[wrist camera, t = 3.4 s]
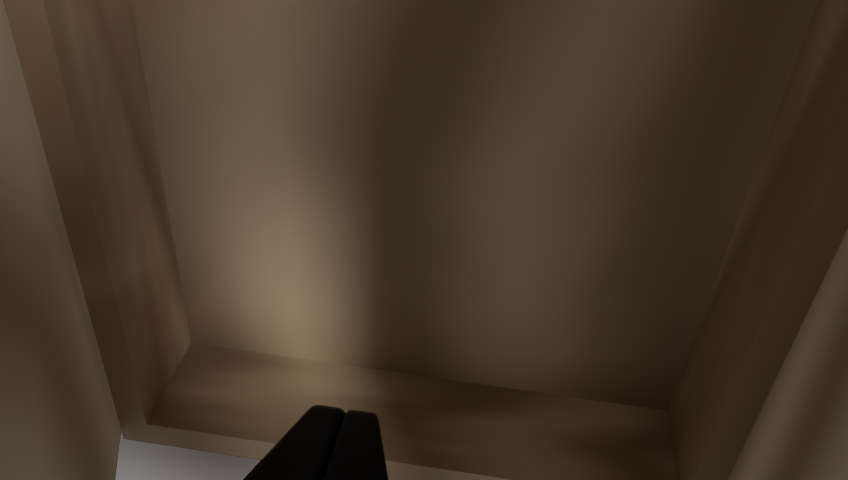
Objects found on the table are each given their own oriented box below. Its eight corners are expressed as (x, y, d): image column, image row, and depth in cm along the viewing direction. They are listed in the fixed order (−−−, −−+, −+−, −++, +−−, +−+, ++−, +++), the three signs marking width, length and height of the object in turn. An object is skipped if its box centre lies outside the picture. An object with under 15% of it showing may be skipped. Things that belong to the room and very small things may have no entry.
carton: (1030, -476, 12) (1212, -534, 8) (684, 412, 23) (704, 528, 20) (18, -530, 13) (-164, -598, 10) (179, 340, 25) (123, 438, 22)
